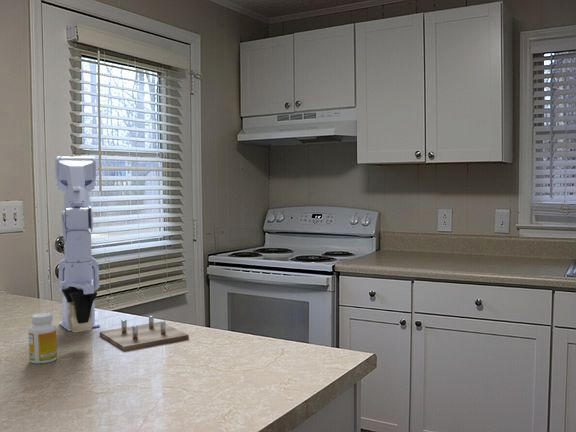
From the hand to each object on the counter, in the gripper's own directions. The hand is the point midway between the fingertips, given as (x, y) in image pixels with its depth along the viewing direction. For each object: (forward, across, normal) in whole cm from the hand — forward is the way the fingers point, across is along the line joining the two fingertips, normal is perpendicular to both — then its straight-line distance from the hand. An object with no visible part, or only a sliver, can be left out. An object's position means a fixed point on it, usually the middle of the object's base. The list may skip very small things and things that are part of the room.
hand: (79, 320), depth 132 cm
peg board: (+6, 0, +15) cm, 16 cm away
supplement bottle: (+6, +4, -9) cm, 12 cm away
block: (+2, 0, 0) cm, 2 cm away
